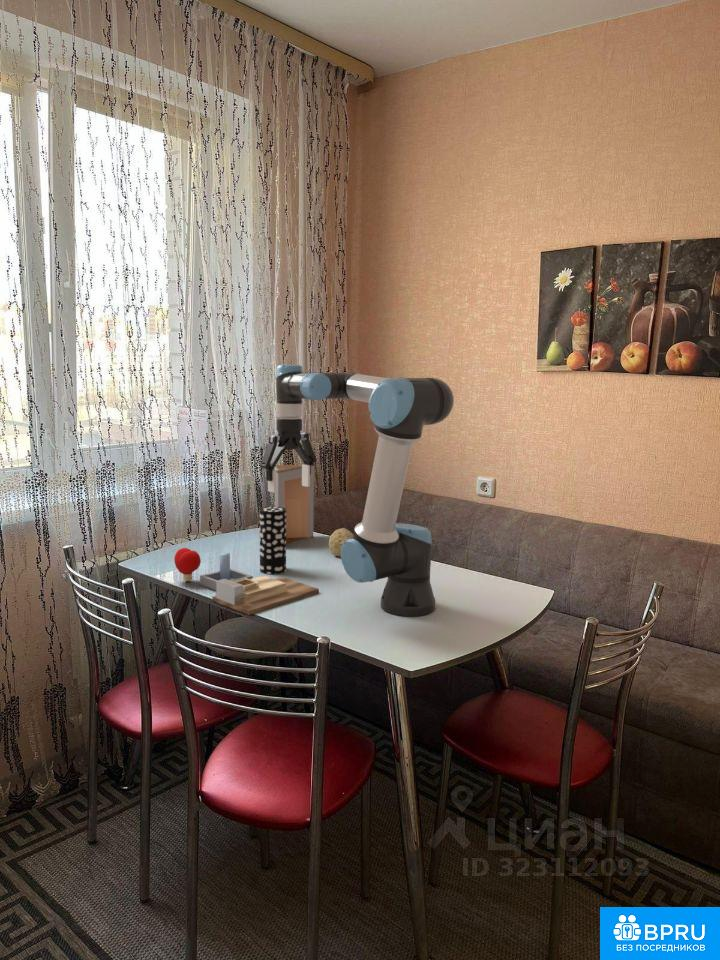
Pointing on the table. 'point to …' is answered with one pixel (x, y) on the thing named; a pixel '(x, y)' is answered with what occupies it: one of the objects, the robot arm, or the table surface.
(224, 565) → the dowel
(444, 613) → the table surface
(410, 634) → the table surface
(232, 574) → the tray
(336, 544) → the coral
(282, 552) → the spotted tube
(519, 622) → the table surface
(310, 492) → the cabinet
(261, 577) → the wooden block with recess
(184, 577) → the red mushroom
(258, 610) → the board
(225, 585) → the block
